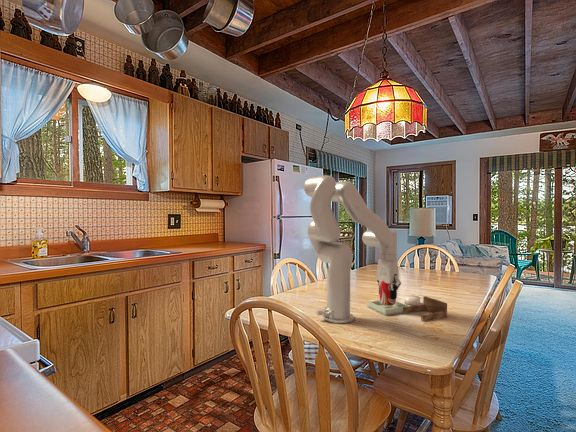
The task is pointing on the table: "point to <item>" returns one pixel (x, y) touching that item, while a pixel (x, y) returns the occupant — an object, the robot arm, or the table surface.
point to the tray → (386, 307)
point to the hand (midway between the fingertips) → (387, 296)
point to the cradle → (429, 309)
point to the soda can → (386, 294)
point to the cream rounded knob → (412, 300)
